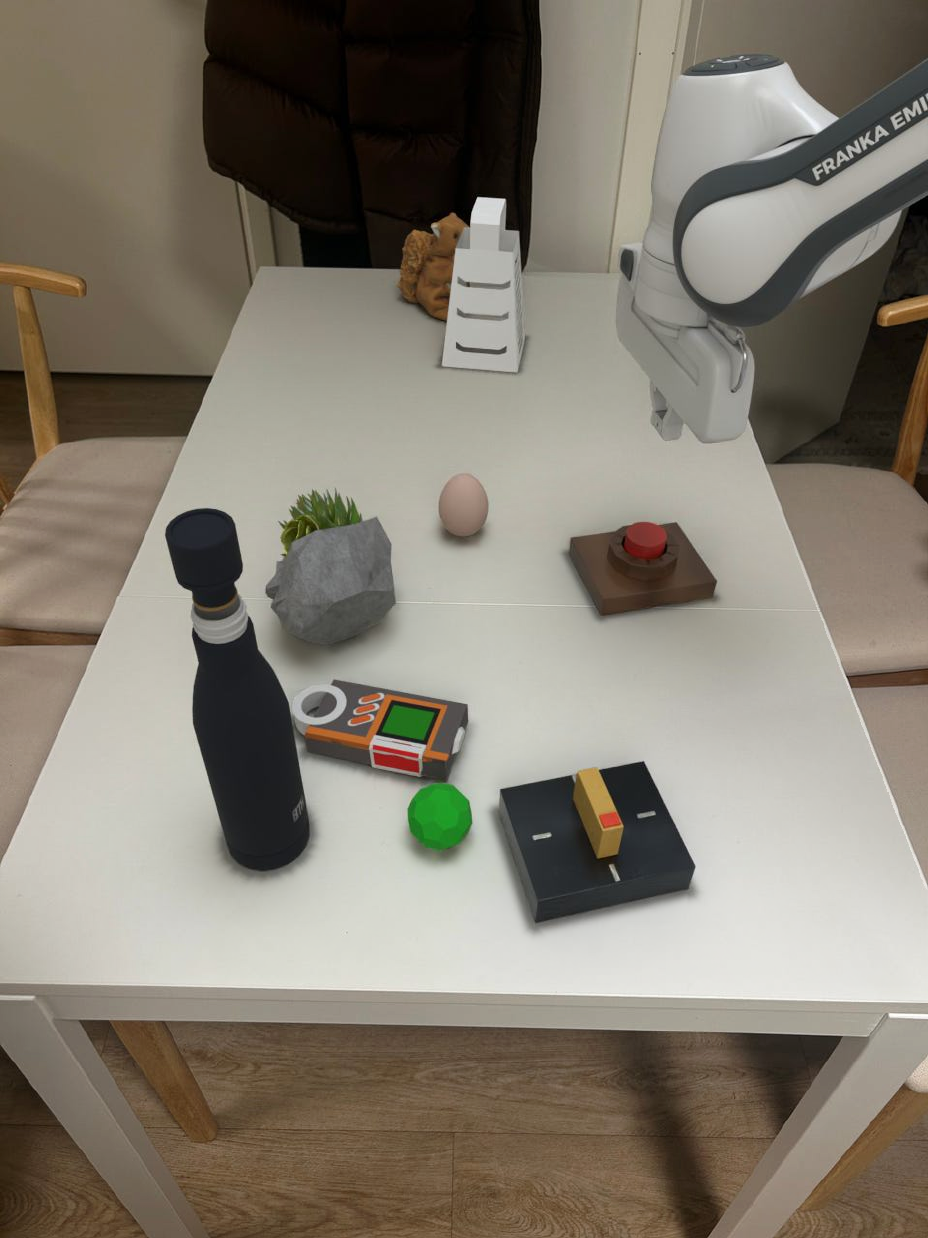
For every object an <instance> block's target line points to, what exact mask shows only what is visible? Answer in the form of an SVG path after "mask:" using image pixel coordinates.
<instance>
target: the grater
mask: <svg viewBox="0 0 928 1238" xmlns="http://www.w3.org/2000/svg"><path fill="white" fill-rule="evenodd" d="M506 219H507V199H506V198H499V197H498V198H496V197H481V196H477V198H476V200H475V203H474V205H473V208H472V211H471V215H470V226H469V227H470V228H468V227H464V229H463V231H462V234H461V236H460V239H459V241H458V244H457V246H456V250H455V259H454V267H453V275H452V284H451V292H450V301H449V309H448V318H447V321H446V327H445V335H444V343H443V352H442V361H441V367H446V368H458V369H459V368H460V369H467V370H468V369H470V370H481V371H495V372H507V373H518V372H519V367H520V362H521V358H522V354H523V348H524V345H525V339H526V332H525V314H524V296H523V294H524V293H523V279H522V278H523V276H522V262H521V260H522V259H521V243H520V231H519V230H512V229H511V230H510V229H506ZM466 282H470V285H472V286H479V287H471V286H470V287H466ZM484 287H494V288H484ZM495 288H496V289H495ZM497 288H504V289H497ZM467 314H470V315H472V316H481V317H489V318H501V319H502V318H503V319H502V320H493V319H492V320H491V319H481V318H480V319H479V318H472V317H471V318H470V317H468V316H467ZM457 344H459V345H460V346H461V347H462V348H473V349H483V350H485V349H486V350H495V351H500V350H502V349H503V348H505V347H506V350H505V351H506V352H504V353H500V354H494V353H482V352H471V351H470V352H469V351H462V350H460V349H459V348H457Z"/></svg>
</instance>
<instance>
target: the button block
mask: <svg viewBox="0 0 928 1238" xmlns="http://www.w3.org/2000/svg"><path fill="white" fill-rule="evenodd" d="M630 525H631V524H629V525H628V524H626V525H622V526H621V527H619V528H618V529H616V530H612V531H607V532H606V531H605V532H600V533H593V534H585V535H578V536H572V537H570V539H569V546H568V547H569V548H568V555H569V557H570V559H571V561H572V563H573V565H574V567H575V568H576V570H577V573H578V574H579V576H580V578H581V580H582V582H583V584H584V586H585V588H586V590H587V591H588V594H589V595H590V597H591V599H592V601H593V603H594V605H595V607H596V609H597V611H598V612H599V614H600V616H605V615H606V616H607V615H613V614H619V613H624V612H631V611H636V610H642V609H643V610H644V609H651V608H656V607H662V606H667V605H673V604H674V605H675V604H679V603H686V602H692V601H698V600H705V599H711V598H714V595H715V590H716V588H717V584H718V580H717V578H716V577H715V576H714V574H713V573H712V571H711V570H710V568H709V567H708V566H707V564H706V563H705V561H704V560H703V558H702V557H701V555H700V553H699V552H698V551H697V549H696V548H695V546H694V545H693V544H692V542H691V541H690V539H689V537H688V536H687V535H686V533H685V532H684V530H683V529H682V528H681V526H680V524H679V523H678V522H677V521H675V522H667V523H662V524H661V523H660V524H658V525H659V526H660V527H662V528H663V529H664V530H665V532H666V534H667V539H666V543H665V548H664V552H663V554H662V555H661V556H660V557H658V558H655V559H642V558H637V557H634V556H632V555H630V554H629V553H628V552H627V551H626V550H625V547H624V543H625V536H626V530H627V528H628V527H629V526H630Z"/></svg>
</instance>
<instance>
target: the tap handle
mask: <svg viewBox="0 0 928 1238" xmlns="http://www.w3.org/2000/svg"><path fill="white" fill-rule="evenodd" d="M599 770H600V769H599V768H598V766H595V767H589V768H584V769H577V770H576V774H577V775H576V782H575V789H574V795H573V800H574V803H575V805H576V808H577V810H578V813H579V815H580V817H581V820H582V822H583V825H584V827H585V830H586V832H587V835H588V837H589V840H590V842H591V844H592V847H593V849H594V852H595V854H596V857H597V859H598V858H603V857H607V856H612V855H617V854H618V850H619V846H620V841H621V837H622V832H623V828H624V826H623V824H622V822H621V819H620V817H619V815H618V813H617V810H616V808H615V806H614V804H613V801H612V799H611V797H610V795H609V792H608V790H607V788H606V786H605V783H604V781H603V779H602V777H601V774H600V772H599Z"/></svg>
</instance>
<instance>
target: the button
mask: <svg viewBox="0 0 928 1238" xmlns="http://www.w3.org/2000/svg"><path fill="white" fill-rule="evenodd" d="M629 525H630V526H629V527H628V528H627V530H626V536H625V543H624V547H625V550H626V551H627V552H628V553H629V554H630V555H632V556H634V557H637V558H642V559H655V558H658V557H660V556H661V555H662V554H663V552H664V548H665V543H666V539H667V534H666V532H665V530H664V529H663V528H662V527H660V526H659V525H660V524H656V523H655V522H650V521H638V522H633V523H632V524H629Z"/></svg>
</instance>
